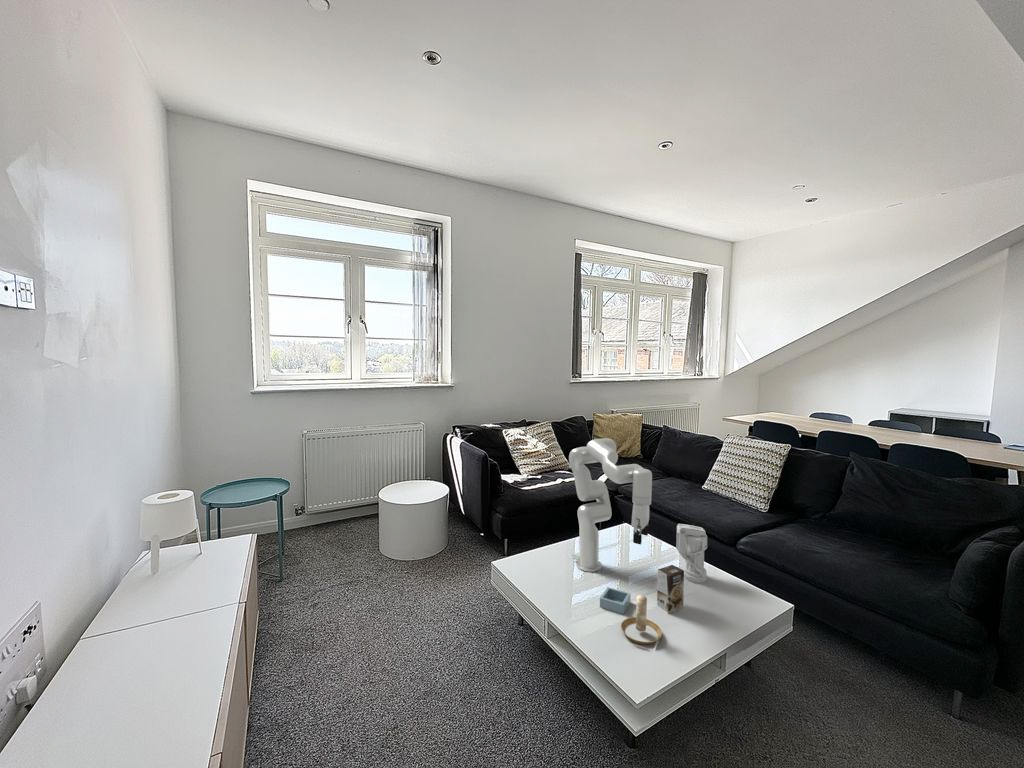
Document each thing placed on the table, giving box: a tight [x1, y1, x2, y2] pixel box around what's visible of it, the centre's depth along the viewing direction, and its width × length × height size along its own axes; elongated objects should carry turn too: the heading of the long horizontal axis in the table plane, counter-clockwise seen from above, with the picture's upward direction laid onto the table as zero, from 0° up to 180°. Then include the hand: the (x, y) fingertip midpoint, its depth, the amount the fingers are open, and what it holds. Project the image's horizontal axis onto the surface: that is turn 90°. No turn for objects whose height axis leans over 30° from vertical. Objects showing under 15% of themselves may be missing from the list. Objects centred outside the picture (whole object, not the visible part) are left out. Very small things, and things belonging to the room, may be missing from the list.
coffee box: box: [656, 564, 685, 614], centre depth 174 cm, size 9×6×16 cm
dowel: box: [635, 594, 648, 633], centre depth 156 cm, size 4×4×12 cm
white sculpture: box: [676, 523, 708, 584], centre depth 197 cm, size 13×10×25 cm
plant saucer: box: [620, 616, 663, 645], centre depth 157 cm, size 15×15×3 cm
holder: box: [599, 586, 632, 615], centre depth 175 cm, size 10×10×4 cm
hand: (640, 538), depth 174 cm, fingers open, 9 cm apart
